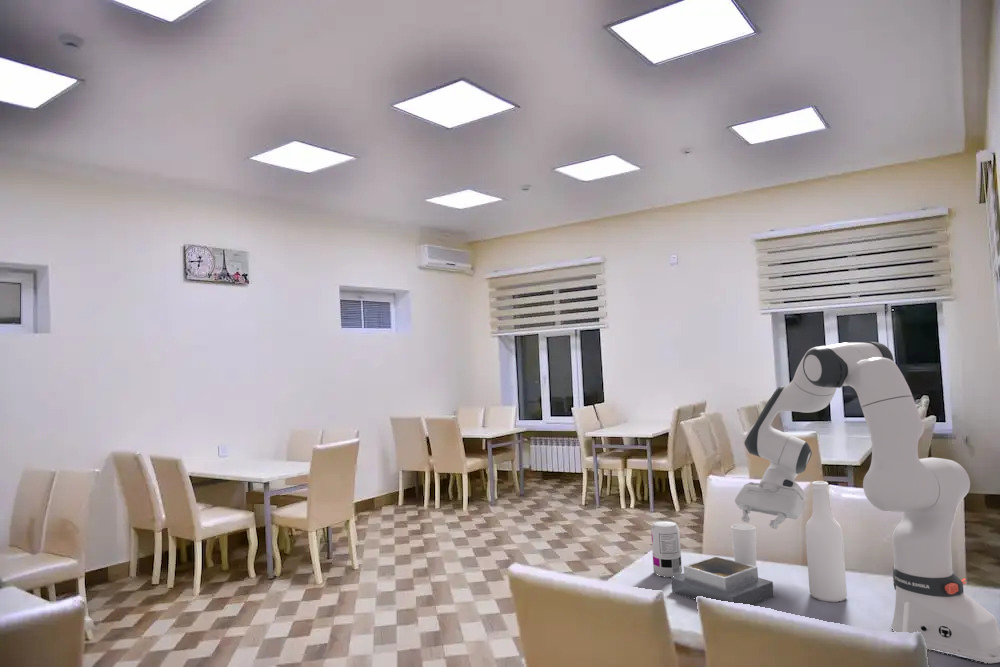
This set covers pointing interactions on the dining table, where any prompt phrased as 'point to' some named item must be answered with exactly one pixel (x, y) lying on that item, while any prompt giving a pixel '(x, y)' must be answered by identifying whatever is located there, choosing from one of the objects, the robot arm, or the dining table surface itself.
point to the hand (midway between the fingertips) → (758, 524)
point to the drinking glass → (744, 543)
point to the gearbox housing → (723, 581)
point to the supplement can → (666, 548)
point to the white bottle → (825, 549)
